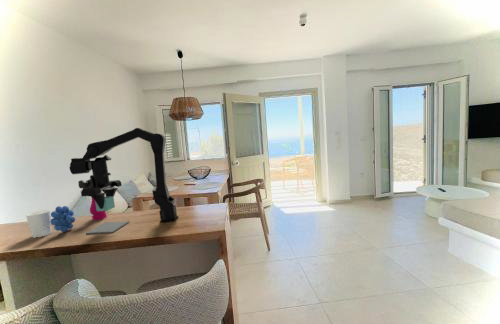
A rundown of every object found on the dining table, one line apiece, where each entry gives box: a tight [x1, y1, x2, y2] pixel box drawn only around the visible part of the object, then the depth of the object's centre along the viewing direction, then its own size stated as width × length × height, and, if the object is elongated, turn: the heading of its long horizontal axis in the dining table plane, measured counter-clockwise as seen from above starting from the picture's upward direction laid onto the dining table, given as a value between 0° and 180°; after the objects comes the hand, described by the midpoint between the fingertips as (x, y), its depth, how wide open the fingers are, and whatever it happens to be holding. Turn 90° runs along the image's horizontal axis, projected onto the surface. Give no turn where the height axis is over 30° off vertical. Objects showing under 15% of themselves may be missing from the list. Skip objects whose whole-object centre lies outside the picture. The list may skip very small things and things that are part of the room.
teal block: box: [95, 196, 115, 212], centre depth 109 cm, size 5×5×5 cm
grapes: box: [50, 205, 76, 233], centre depth 109 cm, size 12×7×12 cm, turn 175°
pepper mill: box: [89, 197, 108, 221], centre depth 125 cm, size 7×7×20 cm
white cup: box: [26, 209, 53, 239], centre depth 108 cm, size 8×8×10 cm
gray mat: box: [85, 220, 130, 235], centre depth 110 cm, size 12×12×1 cm
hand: (105, 206), depth 109 cm, fingers closed on teal block, 5 cm apart
